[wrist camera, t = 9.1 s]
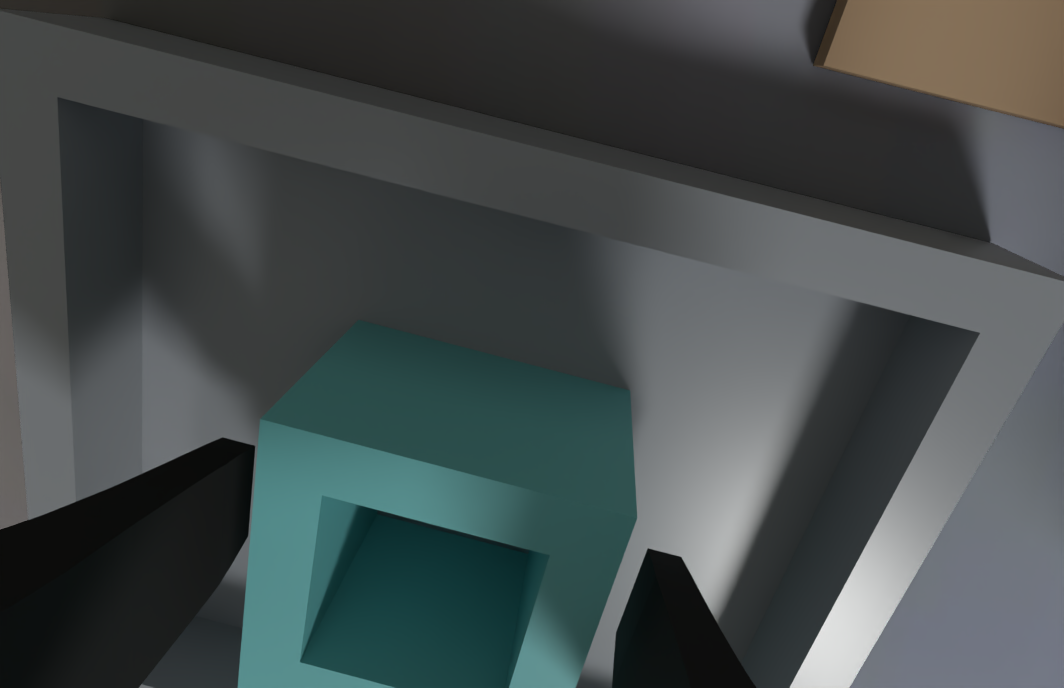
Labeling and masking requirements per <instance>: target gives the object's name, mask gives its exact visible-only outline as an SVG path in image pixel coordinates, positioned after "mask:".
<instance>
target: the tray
mask: <svg viewBox="0 0 1064 688" xmlns="http://www.w3.org/2000/svg"><path fill="white" fill-rule="evenodd" d="M0 179H1V191H2V204H3V216H4V228H5V241H6V253H7V265H8V278H9V290H10V302H11V314H12V327H13V339H14V351H15V364H16V376H17V388H18V400H19V413H20V425H21V437H22V450H23V462H24V474H25V486H26V499H27V511H28V520H30V519H33V518H36V517H38V516H41V515H44V514H46V513H49V512H52V511H54V510H57V509H59V508H61V507H64V506H66V505H69V504H71V503H74V502H76V501H79V500H81V499H84V498H86V497H89V496H91V495H94V494H96V493H99V492H101V491H104V490H106V489H109V488H111V487H113V486H116V485H118V484H120V483H122V482H124V481H127V480H129V479H131V478H133V477H136V476H138V475H140V474H142V473H145V472H147V471H149V470H151V469H153V468H156V467H158V466H160V465H162V464H164V463H167V462H169V461H171V460H173V459H175V458H177V457H179V456H182V455H184V454H186V453H188V452H190V451H192V450H195V449H197V448H199V447H201V446H203V445H206V444H208V443H210V442H213V441H215V440H217V439H220V438H222V437H223V438H227V439H231V440H235V441H239V442H243V443H246V444H250V445H254V446H255V458H254V471H253V483H252V496H251V508H250V521H249V533H248V538H247V539H246V541H245V543H244V544H243V546H242V548H241V550H240V551H239V553H238V555H237V556H236V558H235V560H234V562H233V563H232V565H231V567H230V568H229V570H228V571H227V573H226V575H225V576H224V578H223V579H222V581H221V583H220V584H219V586H218V587H217V588H216V590H215V591H214V592H213V594H212V595H211V596H210V598H209V599H208V600H207V602H206V603H205V604H204V605H203V607H202V608H201V609H200V611H199V612H198V613H197V614H196V616H195V617H194V618H193V620H192V621H191V622H190V623H189V625H188V626H187V627H186V628H185V630H184V631H183V632H182V634H181V635H180V636H179V637H178V639H177V640H176V641H175V642H174V644H173V645H172V646H171V647H170V649H169V650H168V651H167V653H166V654H165V655H164V656H163V658H162V659H161V660H160V661H159V663H158V664H157V665H156V666H155V668H154V669H153V670H152V672H151V673H150V674H149V675H148V677H147V678H146V679H145V680H144V682H143V683H142V684H141V685H140V687H139V688H238V676H239V664H240V652H241V641H242V629H243V617H244V605H245V593H246V581H247V569H248V557H249V545H250V533H251V521H252V509H253V498H254V486H255V474H256V462H257V450H258V438H259V426H260V419H261V418H262V417H263V416H264V415H265V414H266V413H267V412H268V411H269V410H270V409H271V408H272V407H273V406H274V405H275V404H276V403H277V402H278V401H279V400H280V399H281V398H282V396H283V395H284V394H285V393H286V392H287V391H288V390H289V389H290V388H291V387H292V386H293V385H294V384H295V383H296V382H297V381H298V380H299V379H300V378H301V377H302V376H303V375H304V374H305V373H306V372H307V371H308V370H309V369H310V368H311V367H312V366H313V365H314V364H315V363H316V362H317V361H318V360H319V359H320V358H321V357H322V356H323V355H324V354H325V353H326V352H327V351H328V350H329V349H330V348H331V347H332V346H333V345H334V344H335V343H336V342H337V341H338V340H339V339H340V338H341V337H342V336H343V335H344V334H345V333H346V332H347V331H348V330H349V329H350V328H351V327H352V326H353V325H354V324H355V323H356V322H357V321H358V320H361V321H365V322H369V323H373V324H377V325H380V326H384V327H388V328H392V329H396V330H400V331H404V332H407V333H411V334H415V335H419V336H423V337H427V338H430V339H434V340H438V341H442V342H446V343H450V344H453V345H457V346H461V347H465V348H469V349H473V350H477V351H480V352H484V353H488V354H492V355H496V356H500V357H503V358H507V359H511V360H515V361H519V362H523V363H526V364H530V365H534V366H538V367H542V368H546V369H550V370H553V371H557V372H561V373H565V374H569V375H573V376H576V377H580V378H584V379H588V380H592V381H596V382H599V383H603V384H607V385H611V386H615V387H619V388H623V389H626V390H630V396H631V414H632V431H633V449H634V467H635V485H636V503H637V520H636V523H635V526H634V529H633V531H632V534H631V537H630V540H629V542H628V545H627V548H626V551H625V553H624V556H623V559H622V562H621V564H620V567H619V570H618V573H617V575H616V578H615V581H614V583H613V586H612V589H611V592H610V594H609V597H608V600H607V603H606V605H605V608H604V611H603V614H602V616H601V619H600V622H599V625H598V627H597V630H596V633H595V636H594V638H593V641H592V644H591V647H590V649H589V652H588V655H587V658H586V660H585V663H584V666H583V669H582V671H581V674H580V677H579V680H578V682H577V685H576V688H612V680H613V664H614V651H615V638H616V631H617V628H618V626H619V623H620V621H621V618H622V615H623V613H624V610H625V607H626V605H627V602H628V599H629V597H630V594H631V591H632V589H633V586H634V583H635V581H636V578H637V575H638V573H639V570H640V567H641V565H642V562H643V559H644V557H645V554H646V551H647V549H648V548H649V549H653V550H657V551H661V552H665V553H668V554H672V555H676V556H680V557H682V559H683V561H684V563H685V564H686V566H687V568H688V570H689V572H690V574H691V575H692V577H693V579H694V581H695V583H696V585H697V587H698V589H699V590H700V592H701V594H702V596H703V598H704V600H705V602H706V603H707V605H708V607H709V609H710V611H711V613H712V614H713V616H714V618H715V620H716V622H717V623H718V625H719V627H720V629H721V631H722V632H723V634H724V636H725V637H726V639H727V641H728V643H729V644H730V646H731V648H732V649H733V651H734V653H735V654H736V656H737V658H738V659H739V661H740V663H741V665H742V666H743V668H744V669H745V671H746V673H747V674H748V676H749V677H750V679H751V680H752V682H753V683H754V685H755V686H756V688H849V687H850V685H851V684H852V682H853V680H854V679H855V677H856V675H857V673H858V672H859V670H860V668H861V667H862V665H863V663H864V662H865V660H866V658H867V656H868V655H869V653H870V651H871V650H872V648H873V646H874V645H875V643H876V641H877V639H878V638H879V636H880V634H881V633H882V631H883V629H884V627H885V626H886V624H887V622H888V621H889V619H890V617H891V616H892V614H893V612H894V610H895V609H896V607H897V605H898V604H899V602H900V600H901V599H902V597H903V595H904V593H905V592H906V590H907V588H908V587H909V585H910V583H911V581H912V580H913V578H914V576H915V575H916V573H917V571H918V570H919V568H920V566H921V564H922V563H923V561H924V559H925V558H926V556H927V554H928V552H929V551H930V549H931V547H932V546H933V544H934V542H935V541H936V539H937V537H938V535H939V534H940V532H941V530H942V529H943V527H944V525H945V524H946V522H947V520H948V518H949V517H950V515H951V513H952V512H953V510H954V508H955V506H956V505H957V503H958V501H959V500H960V498H961V496H962V495H963V493H964V491H965V489H966V488H967V486H968V484H969V483H970V481H971V479H972V478H973V476H974V474H975V472H976V471H977V469H978V467H979V466H980V464H981V462H982V460H983V459H984V457H985V455H986V454H987V452H988V450H989V449H990V447H991V445H992V443H993V442H994V440H995V438H996V437H997V435H998V433H999V431H1000V430H1001V428H1002V426H1003V425H1004V423H1005V421H1006V420H1007V418H1008V416H1009V414H1010V413H1011V411H1012V409H1013V408H1014V406H1015V404H1016V403H1017V401H1018V399H1019V397H1020V396H1021V394H1022V392H1023V391H1024V389H1025V387H1026V385H1027V384H1028V382H1029V380H1030V379H1031V377H1032V375H1033V374H1034V372H1035V370H1036V368H1037V367H1038V365H1039V363H1040V362H1041V360H1042V358H1043V357H1044V355H1045V353H1046V351H1047V350H1048V348H1049V346H1050V345H1051V343H1052V341H1053V339H1054V338H1055V336H1056V334H1057V333H1058V331H1059V329H1060V328H1061V326H1062V324H1063V322H1064V277H1063V276H1061V275H1059V274H1057V273H1055V272H1053V271H1051V270H1049V269H1046V268H1044V267H1042V266H1040V265H1038V264H1036V263H1034V262H1031V261H1029V260H1027V259H1025V258H1023V257H1021V256H1019V255H1017V254H1014V253H1012V252H1010V251H1008V250H1006V249H1004V248H1002V247H1000V246H997V245H995V244H993V243H990V242H986V241H982V240H978V239H974V238H970V237H966V236H962V235H958V234H954V233H950V232H946V231H942V230H938V229H934V228H930V227H927V226H923V225H919V224H915V223H911V222H907V221H903V220H899V219H895V218H891V217H887V216H883V215H879V214H875V213H871V212H867V211H864V210H860V209H856V208H852V207H848V206H844V205H840V204H836V203H832V202H828V201H824V200H820V199H816V198H812V197H808V196H804V195H801V194H797V193H793V192H789V191H785V190H781V189H777V188H773V187H769V186H765V185H761V184H757V183H753V182H749V181H745V180H741V179H738V178H734V177H730V176H726V175H722V174H718V173H714V172H710V171H706V170H702V169H698V168H694V167H690V166H686V165H682V164H678V163H674V162H671V161H667V160H663V159H659V158H655V157H651V156H647V155H643V154H639V153H635V152H631V151H627V150H623V149H619V148H615V147H611V146H608V145H604V144H600V143H596V142H592V141H588V140H584V139H580V138H576V137H572V136H568V135H564V134H560V133H556V132H552V131H548V130H545V129H541V128H537V127H533V126H529V125H525V124H521V123H517V122H513V121H509V120H505V119H501V118H497V117H493V116H489V115H485V114H481V113H478V112H474V111H470V110H466V109H462V108H458V107H454V106H450V105H446V104H442V103H438V102H434V101H430V100H426V99H422V98H418V97H415V96H411V95H407V94H403V93H399V92H395V91H391V90H387V89H383V88H379V87H375V86H371V85H367V84H363V83H359V82H355V81H352V80H348V79H344V78H340V77H336V76H332V75H328V74H324V73H320V72H316V71H312V70H308V69H304V68H300V67H296V66H292V65H288V64H285V63H281V62H277V61H273V60H269V59H265V58H261V57H257V56H253V55H249V54H245V53H241V52H237V51H233V50H229V49H225V48H222V47H218V46H214V45H210V44H206V43H202V42H198V41H194V40H190V39H186V38H182V37H178V36H174V35H170V34H166V33H162V32H159V31H155V30H151V29H147V28H143V27H139V26H135V25H131V24H127V23H123V22H119V21H115V20H111V19H107V18H98V17H87V16H76V15H65V14H55V13H44V12H33V11H22V10H11V9H0ZM377 514H378V515H382V516H386V517H390V518H393V519H397V520H401V521H405V522H409V523H412V524H416V525H420V526H424V527H428V528H431V529H435V530H439V531H443V532H447V533H450V534H454V535H458V536H462V537H466V538H469V539H473V540H477V541H481V542H485V543H488V544H492V545H496V546H500V547H504V548H507V549H511V550H515V551H519V552H523V553H526V554H528V553H529V550H528V549H524V548H520V547H516V546H512V545H509V544H505V543H501V542H497V541H493V540H490V539H486V538H482V537H478V536H474V535H471V534H467V533H463V532H459V531H455V530H452V529H448V528H444V527H440V526H436V525H433V524H429V523H425V522H421V521H417V520H414V519H410V518H406V517H402V516H398V515H395V514H391V513H387V512H383V511H379V510H378V512H377Z"/></svg>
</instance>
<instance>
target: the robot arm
mask: <svg viewBox="0 0 1064 688" xmlns="http://www.w3.org/2000/svg"><path fill="white" fill-rule="evenodd" d="M254 458H255V446H254V445H250V444H246V443H243V442H239V441H235V440H231V439H227V438H223V437H222V438H220V439H217V440H215V441H213V442H210V443H208V444H206V445H203V446H201V447H199V448H197V449H195V450H192V451H190V452H188V453H186V454H184V455H182V456H179V457H177V458H175V459H173V460H171V461H169V462H167V463H164V464H162V465H160V466H158V467H156V468H153V469H151V470H149V471H147V472H145V473H142V474H140V475H138V476H136V477H133V478H131V479H129V480H127V481H124V482H122V483H120V484H118V485H116V486H113V487H111V488H109V489H106V490H104V491H101V492H99V493H96V494H94V495H91V496H89V497H86V498H84V499H81V500H79V501H76V502H74V503H71V504H69V505H66V506H64V507H61V508H59V509H57V510H54V511H52V512H49V513H46V514H44V515H41V516H38V517H36V518H33V519H30V520H27V521H24V522H21V523H19V524H16V525H13V526H10V527H7V528H4V529H1V530H0V688H139V687H140V685H141V684H142V683H143V682H144V680H145V679H146V678H147V677H148V675H149V674H150V673H151V672H152V670H153V669H154V668H155V666H156V665H157V664H158V663H159V661H160V660H161V659H162V658H163V656H164V655H165V654H166V653H167V651H168V650H169V649H170V647H171V646H172V645H173V644H174V642H175V641H176V640H177V639H178V637H179V636H180V635H181V634H182V632H183V631H184V630H185V628H186V627H187V626H188V625H189V623H190V622H191V621H192V620H193V618H194V617H195V616H196V614H197V613H198V612H199V611H200V609H201V608H202V607H203V605H204V604H205V603H206V602H207V600H208V599H209V598H210V596H211V595H212V594H213V592H214V591H215V590H216V588H217V587H218V586H219V584H220V583H221V581H222V579H223V578H224V576H225V575H226V573H227V571H228V570H229V568H230V567H231V565H232V563H233V562H234V560H235V558H236V556H237V555H238V553H239V551H240V550H241V548H242V546H243V544H244V543H245V541H246V539H247V538H248V533H249V521H250V508H251V496H252V483H253V471H254ZM612 688H756V686H755V685H754V683H753V682H752V680H751V679H750V677H749V676H748V674H747V673H746V671H745V669H744V668H743V666H742V665H741V663H740V661H739V659H738V658H737V656H736V654H735V653H734V651H733V649H732V648H731V646H730V644H729V643H728V641H727V639H726V637H725V636H724V634H723V632H722V631H721V629H720V627H719V625H718V623H717V622H716V620H715V618H714V616H713V614H712V613H711V611H710V609H709V607H708V605H707V603H706V602H705V600H704V598H703V596H702V594H701V592H700V590H699V589H698V587H697V585H696V583H695V581H694V579H693V577H692V575H691V574H690V572H689V570H688V568H687V566H686V564H685V563H684V561H683V559H682V557H680V556H676V555H672V554H668V553H665V552H661V551H657V550H653V549H649V548H648V549H647V551H646V554H645V557H644V559H643V562H642V565H641V567H640V570H639V573H638V575H637V578H636V581H635V583H634V586H633V589H632V591H631V594H630V597H629V599H628V602H627V605H626V607H625V610H624V613H623V615H622V618H621V621H620V623H619V626H618V628H617V631H616V638H615V651H614V664H613V680H612Z"/></svg>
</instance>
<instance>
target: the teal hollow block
mask: <svg viewBox="0 0 1064 688" xmlns="http://www.w3.org/2000/svg"><path fill="white" fill-rule="evenodd" d="M378 510H379V511H383V512H387V513H391V514H395V515H398V516H402V517H406V518H410V519H414V520H417V521H421V522H425V523H429V524H433V525H436V526H440V527H444V528H448V529H452V530H455V531H459V532H463V533H467V534H471V535H474V536H478V537H482V538H486V539H490V540H493V541H497V542H501V543H505V544H509V545H512V546H516V547H520V548H524V549H528V550H529V553H528V554H526V553H523V552H519V551H515V550H511V549H507V548H504V547H500V546H496V545H492V544H488V543H485V542H481V541H477V540H473V539H469V538H466V537H462V536H458V535H454V534H450V533H447V532H443V531H439V530H435V529H431V528H428V527H424V526H420V525H416V524H412V523H409V522H405V521H401V520H397V519H393V518H390V517H386V516H382V515H378V514H377V512H378ZM636 520H637V503H636V485H635V467H634V449H633V431H632V414H631V396H630V390H626V389H623V388H619V387H615V386H611V385H607V384H603V383H599V382H596V381H592V380H588V379H584V378H580V377H576V376H573V375H569V374H565V373H561V372H557V371H553V370H550V369H546V368H542V367H538V366H534V365H530V364H526V363H523V362H519V361H515V360H511V359H507V358H503V357H500V356H496V355H492V354H488V353H484V352H480V351H477V350H473V349H469V348H465V347H461V346H457V345H453V344H450V343H446V342H442V341H438V340H434V339H430V338H427V337H423V336H419V335H415V334H411V333H407V332H404V331H400V330H396V329H392V328H388V327H384V326H380V325H377V324H373V323H369V322H365V321H361V320H358V321H357V322H356V323H355V324H354V325H353V326H352V327H351V328H350V329H349V330H348V331H347V332H346V333H345V334H344V335H343V336H342V337H341V338H340V339H339V340H338V341H337V342H336V343H335V344H334V345H333V346H332V347H331V348H330V349H329V350H328V351H327V352H326V353H325V354H324V355H323V356H322V357H321V358H320V359H319V360H318V361H317V362H316V363H315V364H314V365H313V366H312V367H311V368H310V369H309V370H308V371H307V372H306V373H305V374H304V375H303V376H302V377H301V378H300V379H299V380H298V381H297V382H296V383H295V384H294V385H293V386H292V387H291V388H290V389H289V390H288V391H287V392H286V393H285V394H284V395H283V396H282V398H281V399H280V400H279V401H278V402H277V403H276V404H275V405H274V406H273V407H272V408H271V409H270V410H269V411H268V412H267V413H266V414H265V415H264V416H263V417H262V418H261V419H260V426H259V438H258V450H257V462H256V474H255V486H254V498H253V509H252V521H251V533H250V545H249V557H248V569H247V581H246V593H245V605H244V617H243V629H242V641H241V652H240V664H239V676H238V688H576V685H577V682H578V680H579V677H580V674H581V671H582V669H583V666H584V663H585V660H586V658H587V655H588V652H589V649H590V647H591V644H592V641H593V638H594V636H595V633H596V630H597V627H598V625H599V622H600V619H601V616H602V614H603V611H604V608H605V605H606V603H607V600H608V597H609V594H610V592H611V589H612V586H613V583H614V581H615V578H616V575H617V573H618V570H619V567H620V564H621V562H622V559H623V556H624V553H625V551H626V548H627V545H628V542H629V540H630V537H631V534H632V531H633V529H634V526H635V523H636Z"/></svg>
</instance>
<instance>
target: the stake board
mask: <svg viewBox="0 0 1064 688" xmlns="http://www.w3.org/2000/svg"><path fill="white" fill-rule="evenodd" d="M813 66H817V67H821V68H825V69H829V70H833V71H837V72H841V73H844V74H848V75H852V76H856V77H860V78H864V79H868V80H872V81H876V82H880V83H884V84H888V85H892V86H896V87H900V88H904V89H908V90H912V91H916V92H920V93H924V94H928V95H932V96H936V97H940V98H944V99H948V100H952V101H956V102H960V103H964V104H968V105H972V106H976V107H980V108H984V109H988V110H992V111H995V112H999V113H1003V114H1007V115H1011V116H1015V117H1019V118H1023V119H1027V120H1031V121H1035V122H1039V123H1043V124H1047V125H1051V126H1055V127H1059V128H1063V129H1064V0H837V2H836V4H835V7H834V10H833V13H832V15H831V18H830V21H829V23H828V26H827V29H826V32H825V34H824V37H823V40H822V42H821V45H820V48H819V51H818V53H817V56H816V59H815V61H814V64H813Z"/></svg>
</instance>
